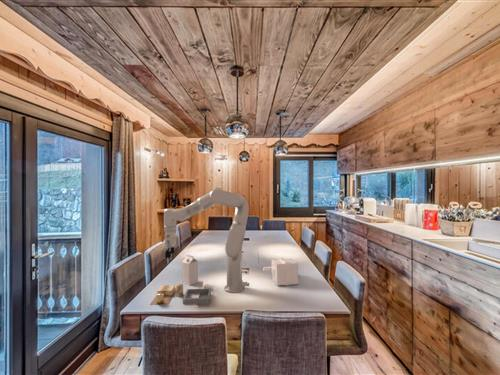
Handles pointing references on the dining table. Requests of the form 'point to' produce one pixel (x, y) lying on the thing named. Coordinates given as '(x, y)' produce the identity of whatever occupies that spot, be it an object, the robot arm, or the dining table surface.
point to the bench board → (166, 299)
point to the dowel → (179, 290)
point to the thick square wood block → (167, 290)
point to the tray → (203, 297)
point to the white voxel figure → (284, 271)
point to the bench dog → (160, 298)
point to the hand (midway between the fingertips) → (169, 255)
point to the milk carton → (190, 270)
